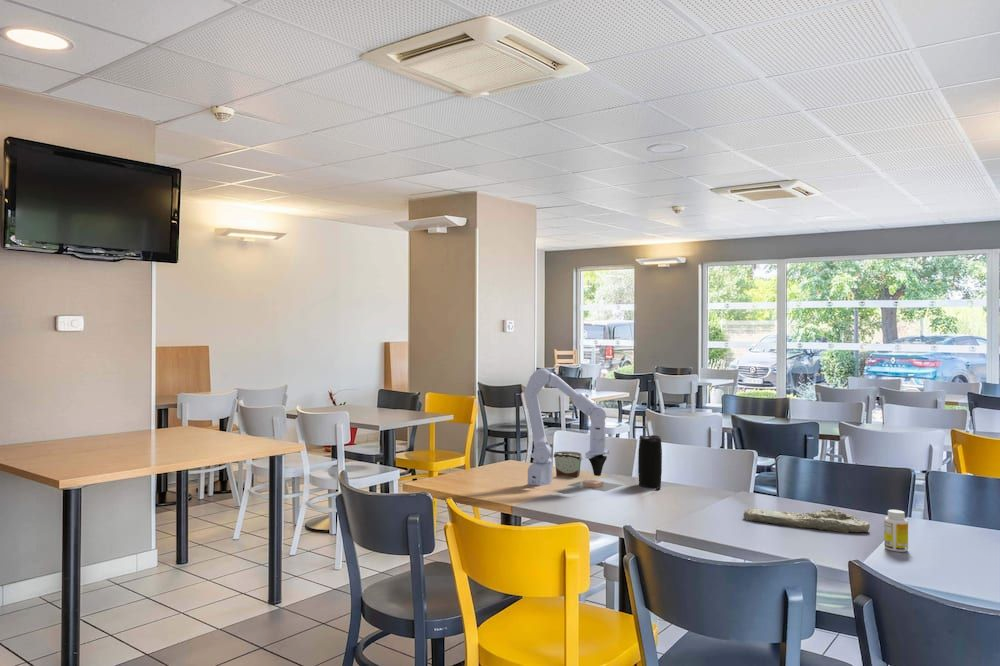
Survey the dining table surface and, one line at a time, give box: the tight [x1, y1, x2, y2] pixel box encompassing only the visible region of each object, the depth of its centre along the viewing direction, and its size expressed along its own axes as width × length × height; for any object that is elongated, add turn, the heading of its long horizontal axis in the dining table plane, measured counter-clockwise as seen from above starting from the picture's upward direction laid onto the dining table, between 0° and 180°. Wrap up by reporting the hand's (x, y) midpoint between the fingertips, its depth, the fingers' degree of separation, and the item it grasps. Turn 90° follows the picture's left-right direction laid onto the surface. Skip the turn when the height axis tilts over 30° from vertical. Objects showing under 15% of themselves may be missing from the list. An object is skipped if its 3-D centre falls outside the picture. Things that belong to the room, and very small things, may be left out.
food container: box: [553, 450, 584, 478], centre depth 284 cm, size 12×6×10 cm, turn 58°
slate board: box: [566, 479, 624, 492], centre depth 264 cm, size 14×16×1 cm
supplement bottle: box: [883, 509, 909, 553], centre depth 190 cm, size 6×6×10 cm
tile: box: [583, 479, 605, 488], centre depth 263 cm, size 2×6×6 cm
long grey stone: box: [743, 508, 871, 533], centre depth 215 cm, size 35×5×10 cm
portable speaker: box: [637, 434, 663, 492], centre depth 264 cm, size 9×9×20 cm
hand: (597, 475), depth 265 cm, fingers closed
